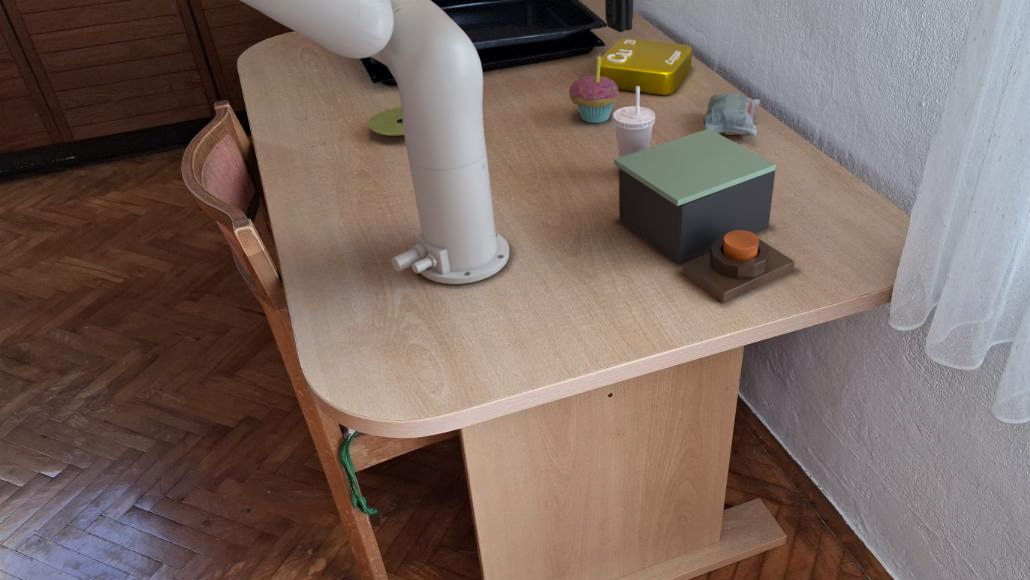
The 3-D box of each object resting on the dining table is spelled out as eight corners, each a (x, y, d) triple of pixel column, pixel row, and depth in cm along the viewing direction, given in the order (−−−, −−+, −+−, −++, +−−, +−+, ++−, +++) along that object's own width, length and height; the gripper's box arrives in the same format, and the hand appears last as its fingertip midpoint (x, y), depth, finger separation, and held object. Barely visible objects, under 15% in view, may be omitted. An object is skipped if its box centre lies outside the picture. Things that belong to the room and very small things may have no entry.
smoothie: (650, 185, 129) (652, 96, 120) (609, 181, 130) (608, 93, 122) (656, 165, 134) (659, 79, 125) (616, 162, 135) (616, 76, 126)
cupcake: (628, 119, 147) (629, 50, 140) (588, 132, 144) (585, 62, 136) (600, 103, 153) (599, 36, 145) (560, 115, 149) (557, 47, 142)
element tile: (671, 97, 154) (672, 71, 151) (593, 87, 158) (593, 61, 155) (693, 67, 165) (694, 42, 162) (620, 58, 169) (620, 34, 166)
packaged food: (758, 115, 148) (761, 87, 145) (755, 145, 139) (757, 117, 136) (708, 112, 149) (709, 85, 146) (701, 142, 140) (703, 114, 137)
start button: (738, 265, 106) (739, 252, 105) (715, 250, 109) (716, 237, 108) (764, 254, 108) (766, 241, 107) (741, 239, 111) (742, 226, 110)
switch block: (722, 303, 106) (725, 280, 103) (682, 274, 111) (683, 250, 108) (793, 271, 111) (797, 248, 108) (751, 244, 116) (754, 221, 114)
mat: (417, 149, 140) (415, 138, 139) (357, 140, 143) (355, 129, 142) (448, 120, 148) (446, 110, 147) (391, 113, 151) (389, 102, 150)
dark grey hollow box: (679, 265, 112) (682, 206, 107) (618, 221, 121) (618, 164, 116) (768, 228, 119) (775, 170, 114) (704, 188, 128) (708, 133, 122)
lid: (677, 206, 106) (677, 200, 106) (613, 164, 115) (613, 159, 115) (775, 170, 113) (776, 164, 113) (708, 133, 122) (708, 128, 122)
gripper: (580, -127, 88) (585, 50, 99) (693, -145, 94) (686, 23, 106) (542, -137, 93) (551, 32, 104) (652, -154, 99) (649, 8, 110)
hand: (619, 27), depth 105 cm, fingers closed
